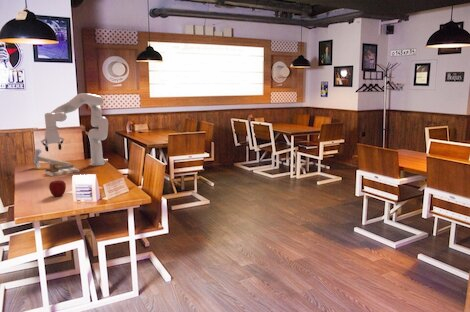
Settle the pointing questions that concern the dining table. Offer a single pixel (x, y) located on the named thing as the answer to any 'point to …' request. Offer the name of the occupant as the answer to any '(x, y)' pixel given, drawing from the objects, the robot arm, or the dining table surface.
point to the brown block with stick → (54, 167)
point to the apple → (57, 187)
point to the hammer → (47, 160)
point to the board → (62, 171)
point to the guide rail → (61, 167)
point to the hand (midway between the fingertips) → (53, 150)
